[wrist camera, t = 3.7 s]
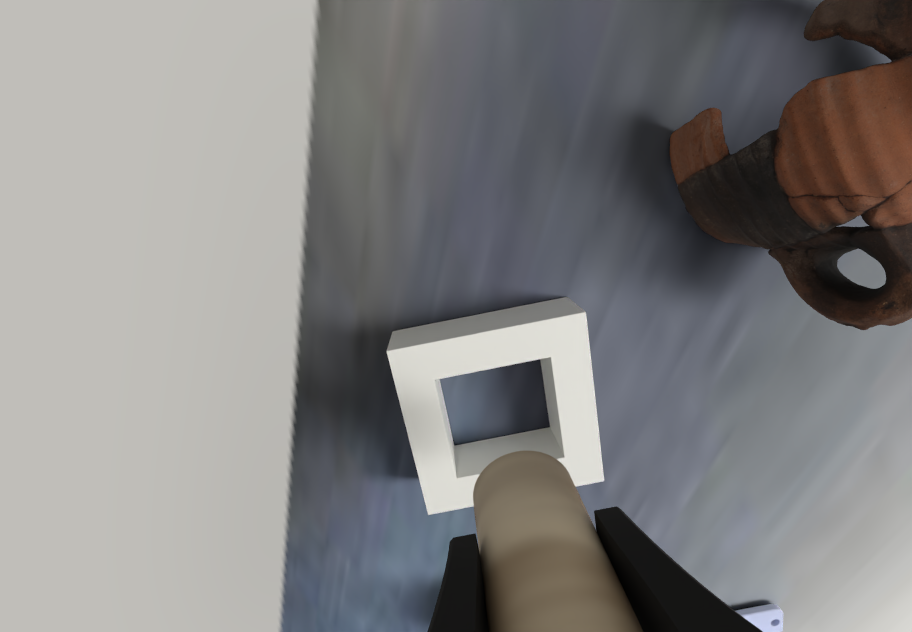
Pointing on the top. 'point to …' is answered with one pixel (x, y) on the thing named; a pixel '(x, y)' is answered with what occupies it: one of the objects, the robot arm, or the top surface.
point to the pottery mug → (821, 172)
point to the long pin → (543, 552)
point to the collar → (485, 347)
